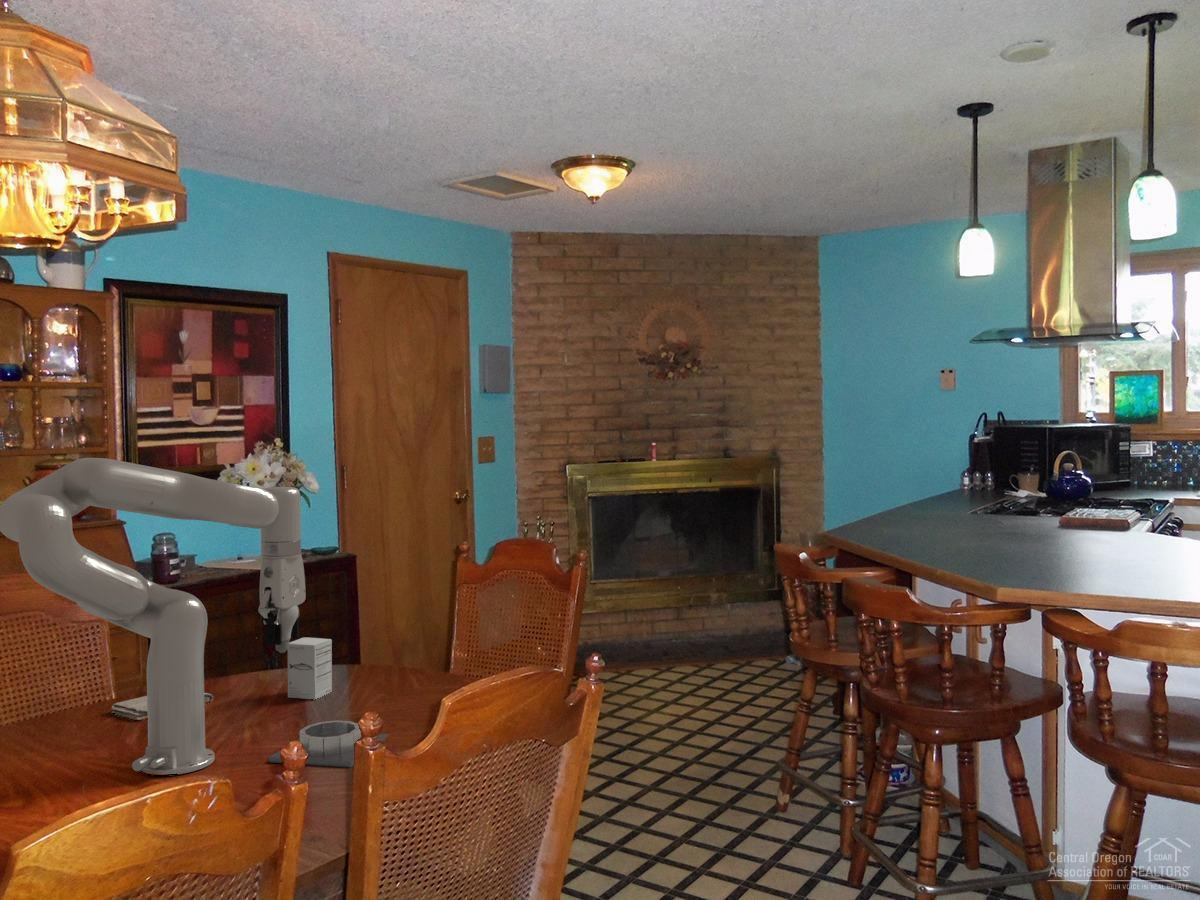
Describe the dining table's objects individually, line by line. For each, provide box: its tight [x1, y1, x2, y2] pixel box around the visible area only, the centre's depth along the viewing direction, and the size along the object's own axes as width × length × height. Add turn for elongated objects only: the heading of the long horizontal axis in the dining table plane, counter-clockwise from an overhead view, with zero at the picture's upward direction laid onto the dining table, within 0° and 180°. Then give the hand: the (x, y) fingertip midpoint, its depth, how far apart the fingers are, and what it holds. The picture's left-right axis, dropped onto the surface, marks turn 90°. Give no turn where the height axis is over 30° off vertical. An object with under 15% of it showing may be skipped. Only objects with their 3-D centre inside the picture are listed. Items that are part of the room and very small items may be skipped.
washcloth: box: [111, 692, 214, 721], centre depth 212 cm, size 12×18×3 cm, turn 147°
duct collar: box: [268, 720, 389, 769], centre depth 182 cm, size 16×16×4 cm
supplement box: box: [287, 637, 333, 701], centre depth 221 cm, size 7×7×13 cm
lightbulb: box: [271, 605, 299, 654], centre depth 190 cm, size 6×6×11 cm
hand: (282, 640), depth 190 cm, fingers closed on lightbulb, 5 cm apart
